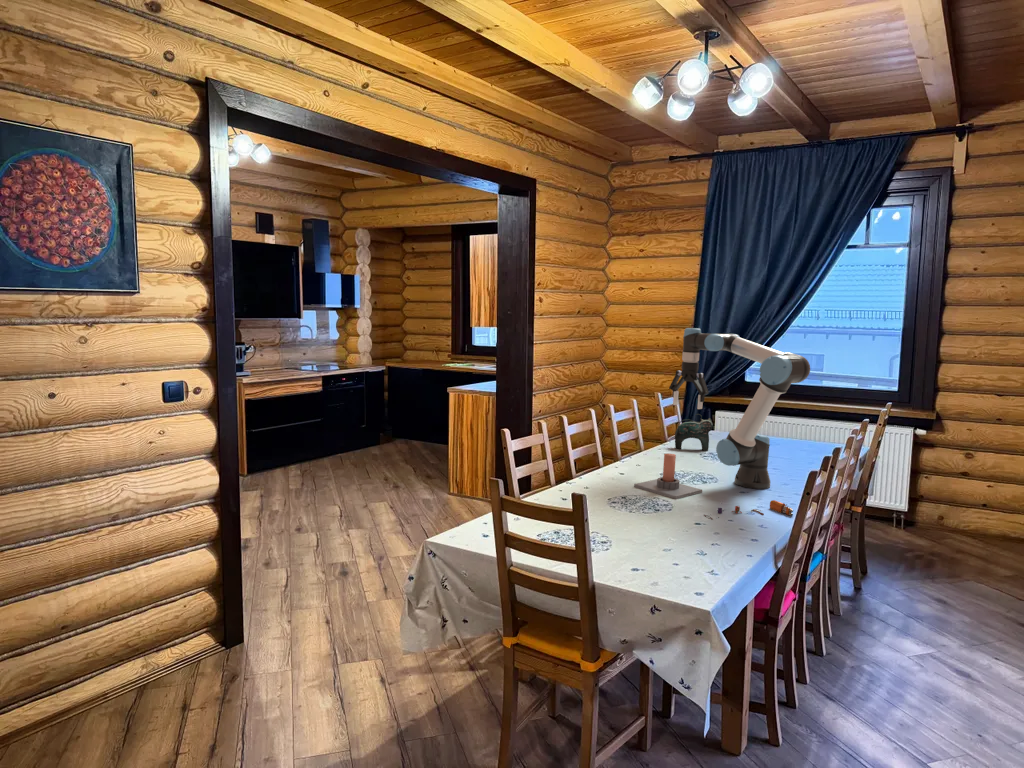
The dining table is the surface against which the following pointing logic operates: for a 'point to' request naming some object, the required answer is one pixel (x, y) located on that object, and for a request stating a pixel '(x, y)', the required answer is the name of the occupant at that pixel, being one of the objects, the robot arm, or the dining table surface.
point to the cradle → (668, 488)
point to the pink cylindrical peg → (669, 467)
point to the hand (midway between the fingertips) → (687, 406)
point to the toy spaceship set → (773, 505)
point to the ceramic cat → (694, 432)
